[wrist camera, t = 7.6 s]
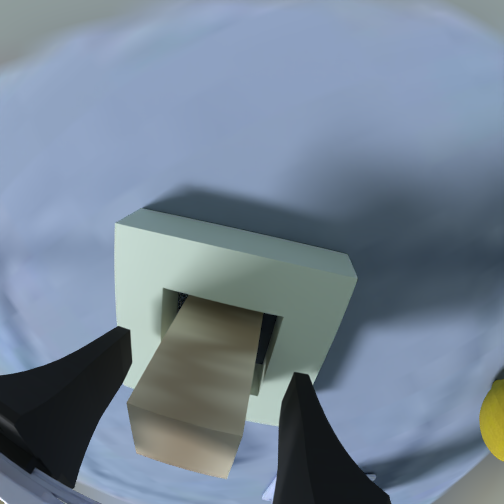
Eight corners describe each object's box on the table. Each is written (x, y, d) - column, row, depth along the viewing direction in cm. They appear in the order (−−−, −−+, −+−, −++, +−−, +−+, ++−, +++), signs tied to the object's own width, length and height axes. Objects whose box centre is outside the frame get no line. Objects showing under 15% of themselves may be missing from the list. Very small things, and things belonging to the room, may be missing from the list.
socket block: (347, 254, 14) (357, 278, 11) (291, 397, 17) (290, 428, 15) (141, 208, 14) (115, 223, 12) (139, 359, 18) (123, 384, 16)
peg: (265, 300, 15) (242, 436, 8) (251, 353, 16) (226, 479, 9) (195, 283, 15) (126, 402, 8) (189, 337, 17) (136, 453, 9)
